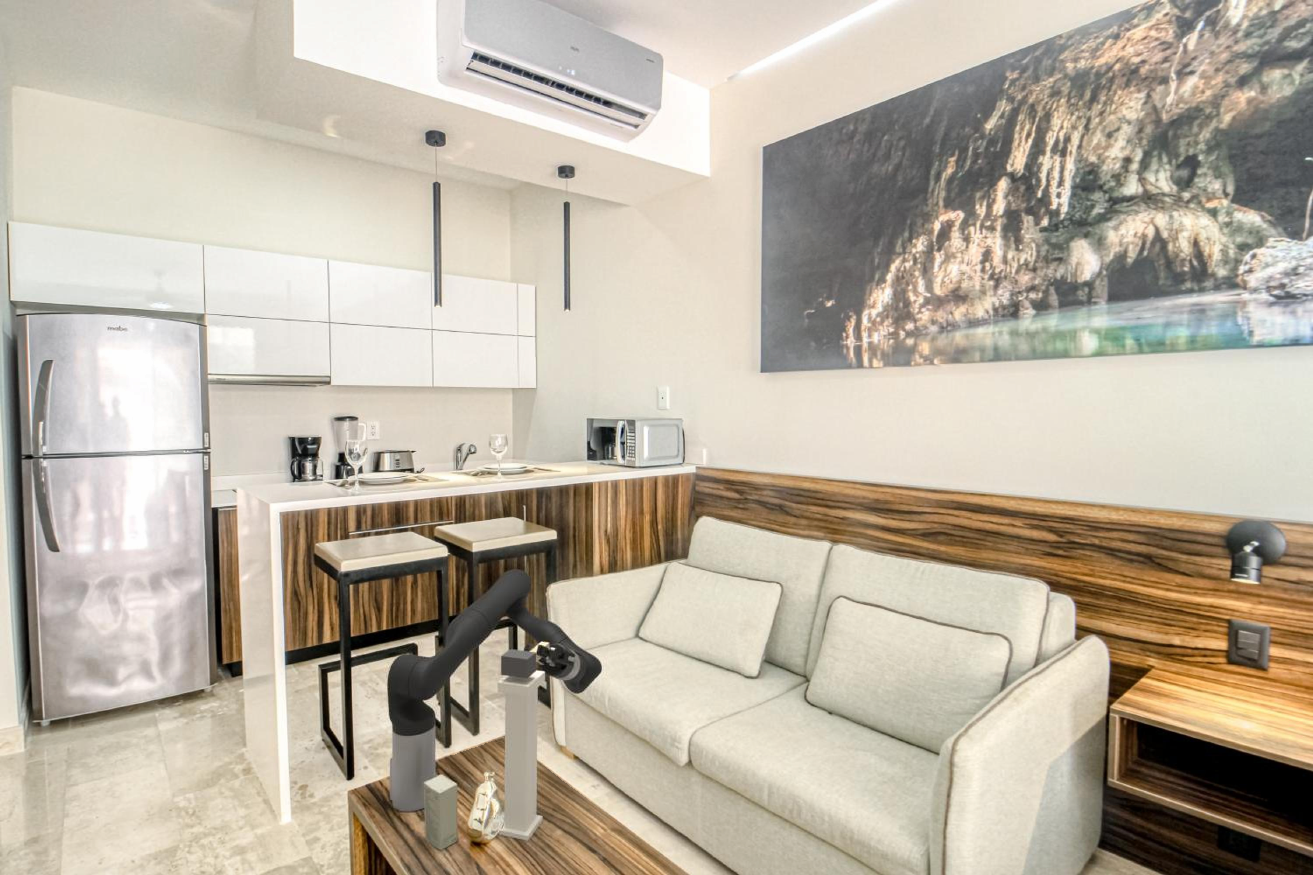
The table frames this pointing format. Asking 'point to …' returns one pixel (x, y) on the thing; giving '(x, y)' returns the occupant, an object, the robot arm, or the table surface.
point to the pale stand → (521, 755)
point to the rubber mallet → (520, 662)
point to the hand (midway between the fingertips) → (533, 648)
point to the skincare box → (441, 811)
